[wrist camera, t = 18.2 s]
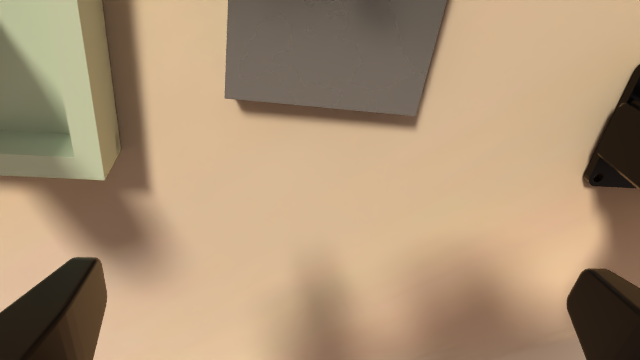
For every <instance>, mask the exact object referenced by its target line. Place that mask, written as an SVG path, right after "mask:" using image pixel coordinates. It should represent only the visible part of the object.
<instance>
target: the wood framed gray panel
mask: <svg viewBox="0 0 640 360" xmlns="http://www.w3.org/2000/svg"><path fill="white" fill-rule="evenodd" d="M446 3H447V0H228V20H227V48H226V75H225V98H226V99H237V100H247V101H258V102H269V103H279V104H290V105H301V106H311V107H322V108H333V109H343V110H354V111H365V112H375V113H386V114H397V115H407V116H416V113H417V109H418V106H419V102H420V98H421V95H422V91H423V87H424V84H425V80H426V76H427V73H428V69H429V65H430V62H431V58H432V55H433V51H434V47H435V44H436V40H437V36H438V33H439V29H440V25H441V22H442V18H443V14H444V11H445V7H446Z"/></svg>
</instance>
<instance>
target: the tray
mask: <svg viewBox="0 0 640 360" xmlns="http://www.w3.org/2000/svg"><path fill="white" fill-rule="evenodd" d="M120 151H121V146H120V138H119V130H118V122H117V114H116V107H115V99H114V91H113V83H112V75H111V67H110V59H109V52H108V44H107V36H106V28H105V20H104V12H103V4H102V0H0V176H22V177H44V178H66V179H88V180H105V179H106V177H107V175H108V173H109V171H110V170H111V168H112V166H113V164H114V162H115V161H116V159H117V157H118V155H119V153H120Z"/></svg>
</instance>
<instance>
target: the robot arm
mask: <svg viewBox="0 0 640 360" xmlns="http://www.w3.org/2000/svg"><path fill="white" fill-rule="evenodd" d="M597 174H598V175H597ZM596 175H597V176H596ZM595 176H596V177H595ZM584 178H585V180H586V181H587V182H588V183H589V184H590V185H592V186H603V187H622V188H637V189H639V190H640V65H638V67H637V68H636V70H635V72H634V74H633V76H632V78H631V80H630V82H629V84H628V86H627V88H626V90H625V92H624V95H623V97H622V99H621V101H620V103H619V105H618V107H617V109H616V111H615V113H614V115H613V117H612V119H611V121H610V123H609V125H608V127H607V129H606V131H605V133H604V135H603V138H602V140H601V142H600V144H599V146H598V148H597V150H596V152H595V154H594V156H593V158H592V160H591V162H590V164H589V166H588V168H587V170H586V172H585V175H584ZM106 303H107V290H106V284H105V279H104V273H103V268H102V263H101V261H100V260H99V259H98V258H90V257H76V258H72V259H70V260H69V261H68V262H66V263H65V264H64V265H62V266H61V267H60V268H58V269H57V270H56V271H54V272H53V273H52V274H51V275H49V276H48V277H47V278H45V279H44V280H43V281H41V282H40V283H39V284H37V285H36V286H35V287H33V288H32V289H31V290H29V291H28V292H27V293H26V294H24V295H23V296H22V297H20V298H19V299H18V300H16V301H15V302H14V303H12V304H11V305H10V306H8V307H7V308H6V309H4V310H3V311H2V312H1V313H0V360H93V357H94V353H95V349H96V345H97V341H98V337H99V333H100V328H101V324H102V320H103V316H104V312H105V308H106ZM567 310H568V313H569V315H570V318H571V321H572V323H573V326H574V328H575V331H576V334H577V336H578V339H579V341H580V344H581V346H582V349H583V352H584V354H585V357H586V360H640V288H638V287H637V286H635V285H633V284H632V283H630V282H628V281H626V280H625V279H623V278H621V277H620V276H618V275H616V274H615V273H613V272H611V271H609V270H607V269H585V270H584V271H582V272H581V274H580V276H579V277H578V279H577V281H576V283H575V285H574V286H573V288H572V290H571V292H570V294H569V295H568V298H567Z"/></svg>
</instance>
